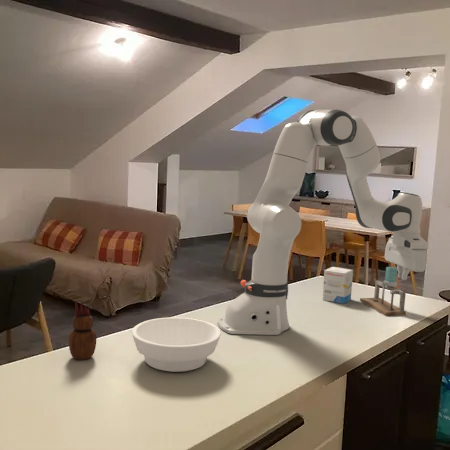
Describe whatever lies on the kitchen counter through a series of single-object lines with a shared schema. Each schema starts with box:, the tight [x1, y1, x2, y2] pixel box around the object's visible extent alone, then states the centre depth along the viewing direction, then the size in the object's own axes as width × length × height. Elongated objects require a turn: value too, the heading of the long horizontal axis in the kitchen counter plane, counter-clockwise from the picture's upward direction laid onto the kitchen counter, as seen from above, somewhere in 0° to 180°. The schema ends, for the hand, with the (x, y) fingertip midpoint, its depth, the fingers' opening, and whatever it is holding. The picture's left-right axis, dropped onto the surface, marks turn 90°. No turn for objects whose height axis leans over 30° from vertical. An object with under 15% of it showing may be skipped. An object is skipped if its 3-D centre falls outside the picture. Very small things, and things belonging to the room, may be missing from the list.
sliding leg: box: [381, 266, 398, 304], centre depth 195 cm, size 5×3×13 cm, turn 105°
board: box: [359, 279, 407, 317], centre depth 196 cm, size 8×18×8 cm, turn 15°
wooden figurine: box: [68, 301, 97, 361], centre depth 137 cm, size 7×6×15 cm
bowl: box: [131, 316, 222, 373], centre depth 137 cm, size 22×22×8 cm
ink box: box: [322, 266, 354, 305], centre depth 204 cm, size 9×8×12 cm
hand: (402, 278), depth 188 cm, fingers closed
